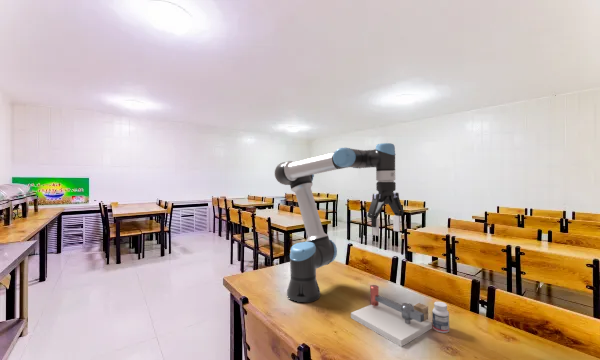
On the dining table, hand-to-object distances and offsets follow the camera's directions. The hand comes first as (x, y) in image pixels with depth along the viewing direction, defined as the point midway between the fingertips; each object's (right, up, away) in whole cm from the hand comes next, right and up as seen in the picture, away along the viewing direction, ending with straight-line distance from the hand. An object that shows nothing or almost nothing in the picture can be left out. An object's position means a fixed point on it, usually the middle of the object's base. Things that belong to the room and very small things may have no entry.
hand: (386, 233), depth 112 cm
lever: (0, -28, -11) cm, 30 cm away
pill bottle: (+14, -31, -16) cm, 37 cm away
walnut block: (+9, -29, -12) cm, 32 cm away
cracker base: (-2, -31, -12) cm, 33 cm away
